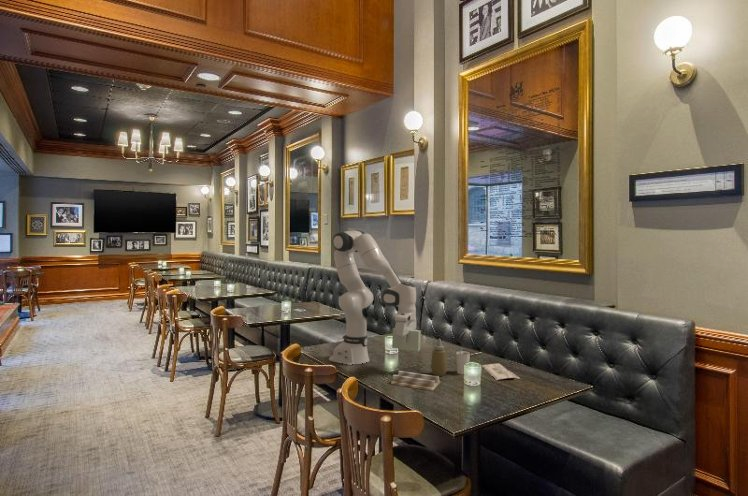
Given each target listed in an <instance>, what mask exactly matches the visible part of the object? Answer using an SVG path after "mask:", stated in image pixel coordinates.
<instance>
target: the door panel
mask: <svg viewBox="0 0 748 496" xmlns="http://www.w3.org/2000/svg"><path fill="white" fill-rule="evenodd" d="M421 334H422V330H421V329H420V330H418V329H415V330H413V329H411V330H409V333H408V334H407V335H406V339H407V342H406V343H403V342H402V341H403V339H402V337H399V336H396V329H395V326H394V327H392V337H391V338H392V341H391V343H392V346H391V347H392V349H399V350H403V351H411V352H419V351H421Z"/></svg>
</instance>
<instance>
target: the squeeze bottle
mask: <svg viewBox="0 0 748 496" xmlns="http://www.w3.org/2000/svg"><path fill="white" fill-rule="evenodd" d="M430 368H431V372H432V374H433V375H432V376H439V377H444V376H445V375H446V372H447V371H448V361H447V351H446V350H445V346H444V345H443V344H442V340H441V338H438V339H437V343H436V344H435V345H434V349H433V350H432V354H431V364H430Z"/></svg>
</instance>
